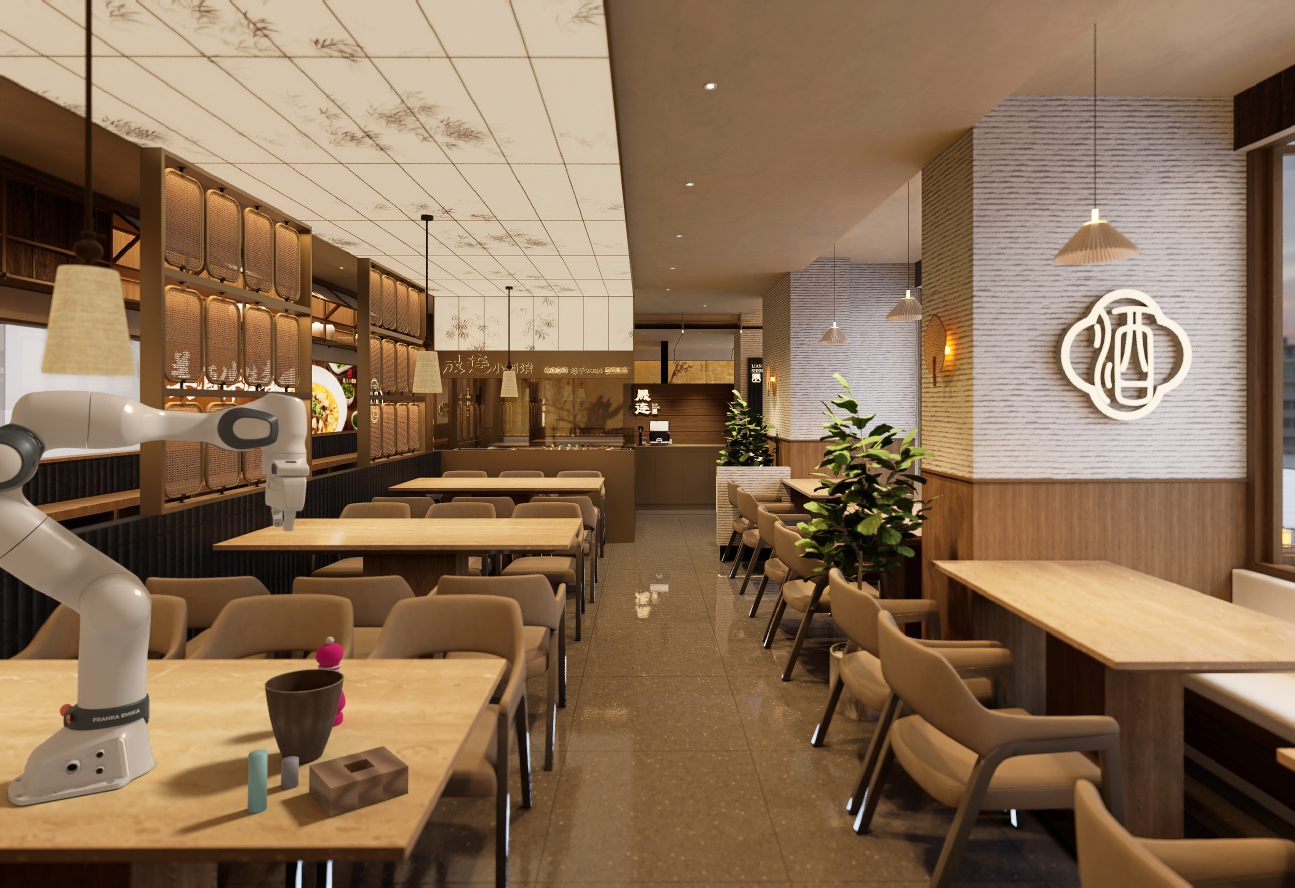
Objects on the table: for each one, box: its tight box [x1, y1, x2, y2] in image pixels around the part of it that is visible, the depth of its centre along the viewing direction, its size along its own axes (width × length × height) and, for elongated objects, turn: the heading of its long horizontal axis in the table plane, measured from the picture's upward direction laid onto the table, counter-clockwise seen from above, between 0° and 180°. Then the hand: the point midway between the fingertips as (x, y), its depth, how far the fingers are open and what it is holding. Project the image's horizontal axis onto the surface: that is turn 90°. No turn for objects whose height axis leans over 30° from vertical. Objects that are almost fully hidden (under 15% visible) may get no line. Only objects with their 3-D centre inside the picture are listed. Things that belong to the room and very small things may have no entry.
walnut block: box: [308, 745, 409, 818], centre depth 137 cm, size 14×12×5 cm
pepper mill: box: [315, 636, 346, 727], centre depth 171 cm, size 7×7×20 cm
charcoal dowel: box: [280, 756, 300, 791], centre depth 139 cm, size 3×3×5 cm
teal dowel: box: [247, 749, 268, 815], centre depth 130 cm, size 3×3×10 cm
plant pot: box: [264, 668, 345, 765], centre depth 152 cm, size 15×15×16 cm
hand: (282, 528), depth 163 cm, fingers open, 8 cm apart
